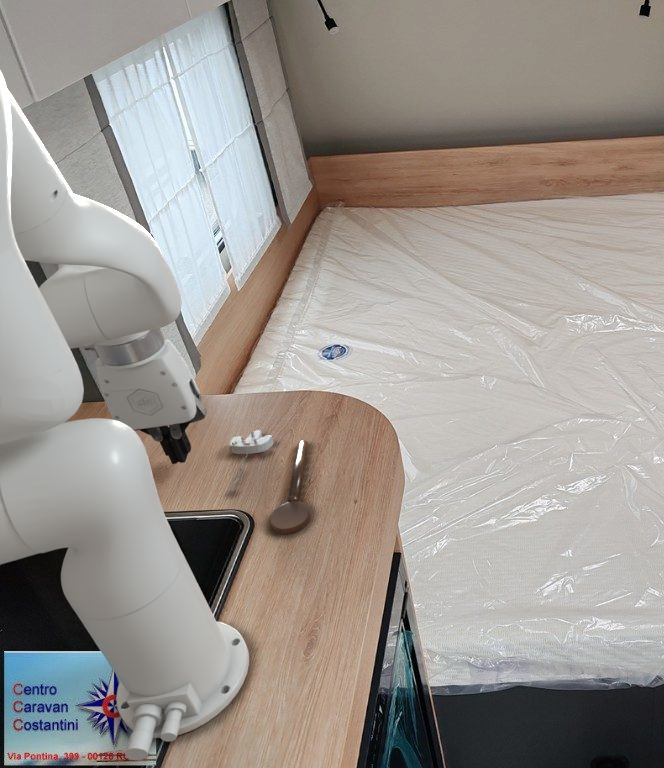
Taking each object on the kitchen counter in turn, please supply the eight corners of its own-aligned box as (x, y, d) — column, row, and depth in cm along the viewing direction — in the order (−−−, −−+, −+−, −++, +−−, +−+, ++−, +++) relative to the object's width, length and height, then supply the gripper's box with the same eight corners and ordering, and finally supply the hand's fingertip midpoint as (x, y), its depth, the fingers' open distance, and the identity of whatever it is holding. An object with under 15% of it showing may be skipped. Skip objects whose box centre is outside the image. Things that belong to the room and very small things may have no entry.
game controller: (274, 432, 109) (269, 418, 107) (276, 484, 100) (270, 469, 98) (234, 442, 108) (228, 427, 106) (232, 495, 99) (225, 480, 97)
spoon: (309, 531, 92) (306, 523, 91) (269, 537, 92) (266, 529, 91) (322, 443, 106) (319, 435, 105) (287, 448, 106) (285, 440, 105)
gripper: (56, 368, 88) (117, 483, 99) (185, 350, 89) (231, 466, 100) (78, 335, 95) (133, 447, 105) (198, 319, 95) (241, 431, 106)
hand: (181, 456), depth 102 cm, fingers closed
